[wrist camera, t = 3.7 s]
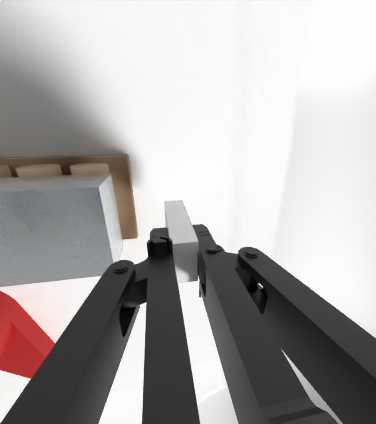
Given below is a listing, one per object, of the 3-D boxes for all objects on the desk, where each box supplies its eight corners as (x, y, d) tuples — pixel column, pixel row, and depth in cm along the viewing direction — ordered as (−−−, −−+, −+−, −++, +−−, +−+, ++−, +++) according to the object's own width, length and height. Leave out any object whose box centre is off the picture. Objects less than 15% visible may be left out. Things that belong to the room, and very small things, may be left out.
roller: (122, 235, 21) (118, 250, 19) (94, 237, 21) (85, 253, 18) (111, 162, 18) (103, 167, 15) (77, 162, 18) (63, 168, 15)
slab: (-20, 258, 17) (-67, 294, 13) (-61, 179, 14) (-137, 197, 10) (123, 245, 19) (115, 274, 15) (111, 173, 16) (98, 187, 12)
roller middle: (84, 238, 21) (74, 255, 18) (54, 240, 20) (39, 258, 18) (65, 163, 18) (49, 169, 15) (29, 164, 17) (5, 170, 14)
